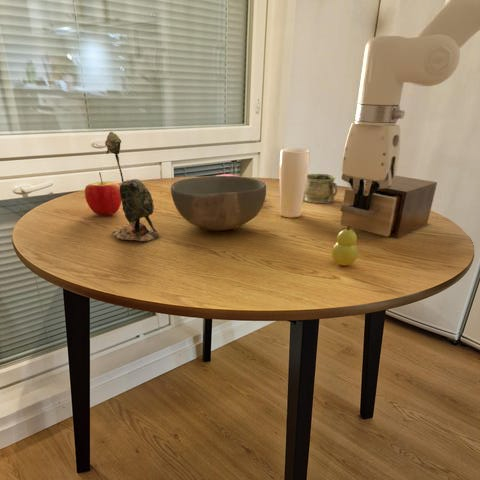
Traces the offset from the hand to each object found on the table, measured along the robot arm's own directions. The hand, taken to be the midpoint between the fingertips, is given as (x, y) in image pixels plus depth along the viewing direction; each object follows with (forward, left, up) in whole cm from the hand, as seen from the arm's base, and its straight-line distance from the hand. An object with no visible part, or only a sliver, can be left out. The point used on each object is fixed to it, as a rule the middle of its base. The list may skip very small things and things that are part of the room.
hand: (360, 213), depth 88 cm
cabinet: (0, -13, -5) cm, 14 cm away
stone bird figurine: (+30, +35, -5) cm, 46 cm away
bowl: (+24, +18, -5) cm, 30 cm away
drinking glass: (+20, -2, -5) cm, 21 cm away
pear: (-7, +16, -5) cm, 18 cm away
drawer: (0, -6, -4) cm, 7 cm away
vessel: (+25, -20, -5) cm, 32 cm away
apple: (+50, +31, -5) cm, 59 cm away
